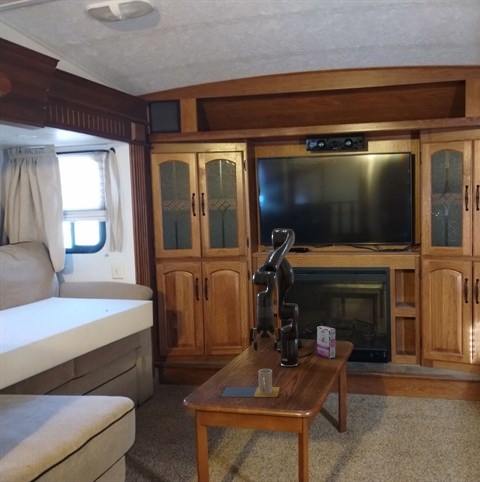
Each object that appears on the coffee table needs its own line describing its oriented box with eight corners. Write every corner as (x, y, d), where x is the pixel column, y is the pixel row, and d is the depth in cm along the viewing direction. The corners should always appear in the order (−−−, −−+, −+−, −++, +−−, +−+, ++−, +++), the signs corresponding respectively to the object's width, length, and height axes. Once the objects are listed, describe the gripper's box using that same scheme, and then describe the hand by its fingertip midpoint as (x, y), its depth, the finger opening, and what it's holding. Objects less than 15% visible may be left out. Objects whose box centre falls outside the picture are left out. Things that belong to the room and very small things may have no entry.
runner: (226, 387, 203) (226, 387, 203) (279, 387, 203) (279, 387, 203) (220, 397, 192) (220, 396, 192) (277, 397, 192) (277, 396, 192)
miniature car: (303, 346, 270) (303, 333, 269) (289, 354, 253) (289, 340, 253) (290, 344, 273) (290, 331, 273) (275, 352, 257) (275, 339, 256)
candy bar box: (336, 357, 247) (336, 328, 247) (329, 359, 244) (329, 330, 243) (323, 352, 256) (323, 325, 255) (316, 354, 253) (316, 326, 252)
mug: (259, 389, 200) (259, 368, 200) (272, 389, 200) (272, 368, 200) (256, 396, 191) (256, 375, 191) (270, 397, 191) (270, 375, 191)
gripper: (281, 313, 200) (282, 347, 201) (251, 313, 200) (251, 347, 201) (280, 316, 193) (280, 352, 194) (248, 316, 193) (248, 353, 194)
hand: (265, 350), depth 197 cm, fingers open, 8 cm apart
